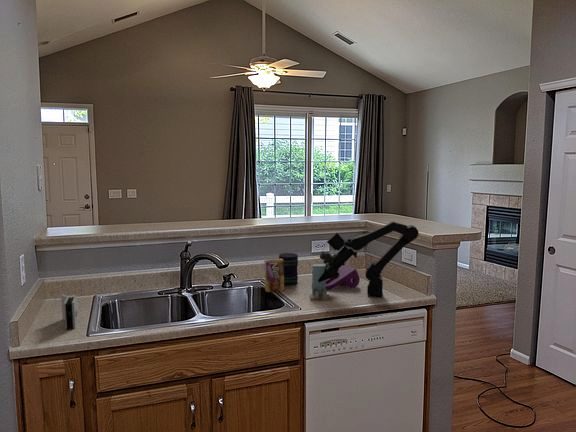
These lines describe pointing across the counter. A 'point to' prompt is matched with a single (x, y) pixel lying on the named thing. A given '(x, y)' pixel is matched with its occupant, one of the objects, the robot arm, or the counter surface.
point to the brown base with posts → (320, 295)
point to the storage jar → (290, 268)
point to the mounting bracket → (344, 278)
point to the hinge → (70, 311)
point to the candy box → (274, 275)
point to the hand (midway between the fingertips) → (318, 280)
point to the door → (316, 274)
